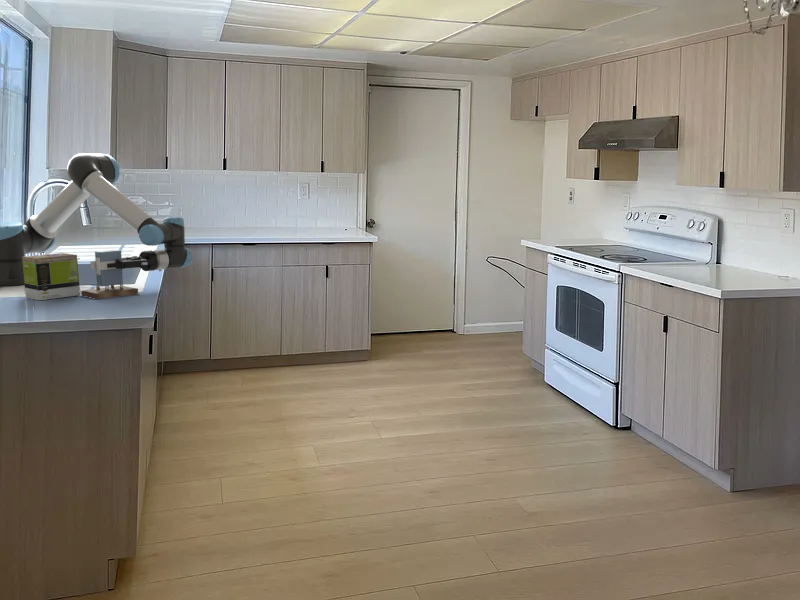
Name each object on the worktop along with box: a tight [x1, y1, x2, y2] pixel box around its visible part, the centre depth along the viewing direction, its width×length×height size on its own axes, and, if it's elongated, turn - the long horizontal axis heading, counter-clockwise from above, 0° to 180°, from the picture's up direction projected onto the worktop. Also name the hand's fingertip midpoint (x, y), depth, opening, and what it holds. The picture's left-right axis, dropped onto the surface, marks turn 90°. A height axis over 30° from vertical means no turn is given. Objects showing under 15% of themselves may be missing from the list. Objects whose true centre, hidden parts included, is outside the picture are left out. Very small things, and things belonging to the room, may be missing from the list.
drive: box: [94, 249, 124, 287], centre depth 271 cm, size 8×4×12 cm, turn 141°
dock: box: [80, 285, 139, 300], centre depth 273 cm, size 16×10×2 cm, turn 141°
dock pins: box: [95, 283, 124, 292], centre depth 272 cm, size 7×7×2 cm
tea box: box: [22, 252, 81, 301], centre depth 266 cm, size 15×10×15 cm
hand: (94, 265), depth 267 cm, fingers closed on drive, 3 cm apart
